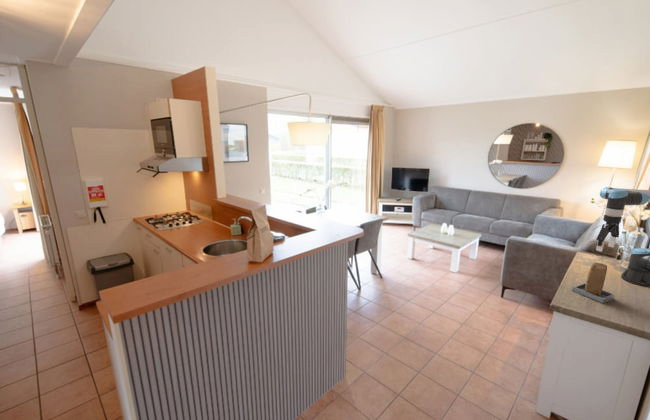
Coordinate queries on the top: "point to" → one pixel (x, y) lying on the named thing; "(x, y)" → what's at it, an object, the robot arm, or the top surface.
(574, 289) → the tray
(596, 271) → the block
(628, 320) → the top surface
